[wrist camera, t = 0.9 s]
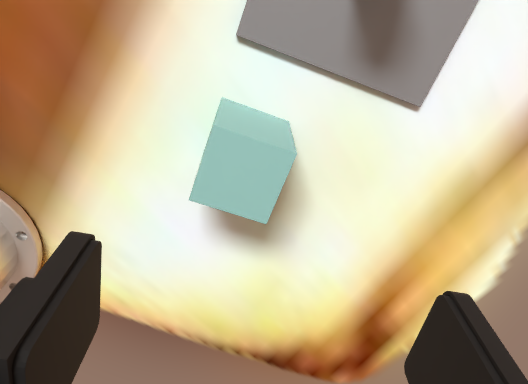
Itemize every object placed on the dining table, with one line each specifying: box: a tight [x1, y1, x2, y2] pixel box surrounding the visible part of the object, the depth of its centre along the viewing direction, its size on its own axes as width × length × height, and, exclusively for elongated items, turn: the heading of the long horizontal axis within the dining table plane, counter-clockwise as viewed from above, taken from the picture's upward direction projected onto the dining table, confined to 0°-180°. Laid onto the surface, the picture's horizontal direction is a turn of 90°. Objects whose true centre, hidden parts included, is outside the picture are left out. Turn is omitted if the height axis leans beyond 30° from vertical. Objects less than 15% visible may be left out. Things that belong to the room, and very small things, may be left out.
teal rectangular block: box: [189, 98, 297, 224], centre depth 28 cm, size 5×5×7 cm
